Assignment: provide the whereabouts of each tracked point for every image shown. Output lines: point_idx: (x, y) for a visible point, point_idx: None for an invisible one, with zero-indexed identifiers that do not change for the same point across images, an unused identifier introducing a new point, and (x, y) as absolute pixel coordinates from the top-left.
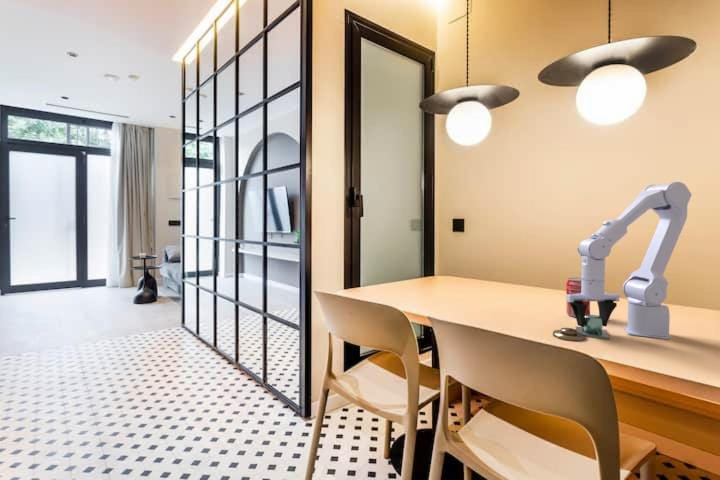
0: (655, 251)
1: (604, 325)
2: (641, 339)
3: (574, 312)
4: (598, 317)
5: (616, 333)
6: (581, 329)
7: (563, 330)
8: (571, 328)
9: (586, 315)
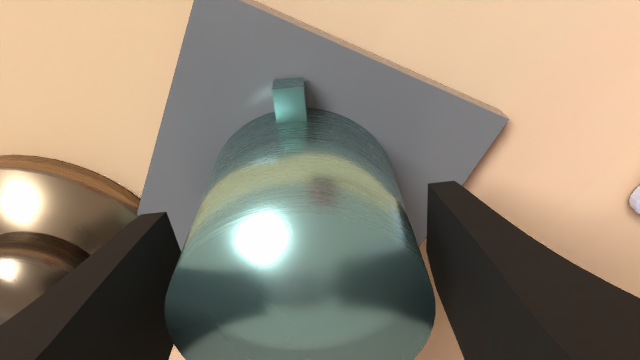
0: None
1: (429, 260)
2: (619, 284)
3: (5, 335)
4: (364, 354)
5: (559, 152)
6: (224, 121)
7: None
8: (58, 280)
9: (241, 274)
